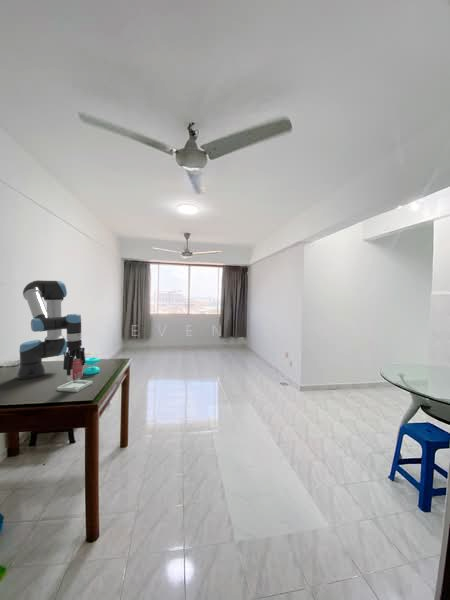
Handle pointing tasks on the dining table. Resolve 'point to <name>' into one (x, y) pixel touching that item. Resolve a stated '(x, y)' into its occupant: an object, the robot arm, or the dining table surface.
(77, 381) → the dish
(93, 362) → the donuts
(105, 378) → the dining table surface
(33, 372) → the robot arm
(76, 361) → the soda can
